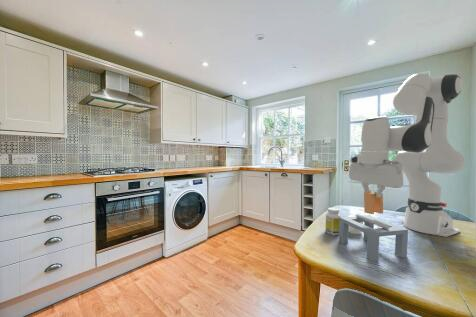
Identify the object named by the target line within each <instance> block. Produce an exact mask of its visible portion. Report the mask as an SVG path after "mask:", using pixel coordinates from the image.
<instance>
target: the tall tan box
mask: <svg viewBox="0 0 476 317" xmlns="http://www.w3.org/2000/svg"><path fill="white" fill-rule="evenodd" d="M383 195H384V194H383V192H382V195H381V197H375V196H374V192H371V193H364V192H363V201H364V202H363V204H364V205H363V208H364V212H363V213H364V214H365V213H366V214H368V215H374V214H375V213H377V214H382V215H383V214H384V196H383Z"/></svg>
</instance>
